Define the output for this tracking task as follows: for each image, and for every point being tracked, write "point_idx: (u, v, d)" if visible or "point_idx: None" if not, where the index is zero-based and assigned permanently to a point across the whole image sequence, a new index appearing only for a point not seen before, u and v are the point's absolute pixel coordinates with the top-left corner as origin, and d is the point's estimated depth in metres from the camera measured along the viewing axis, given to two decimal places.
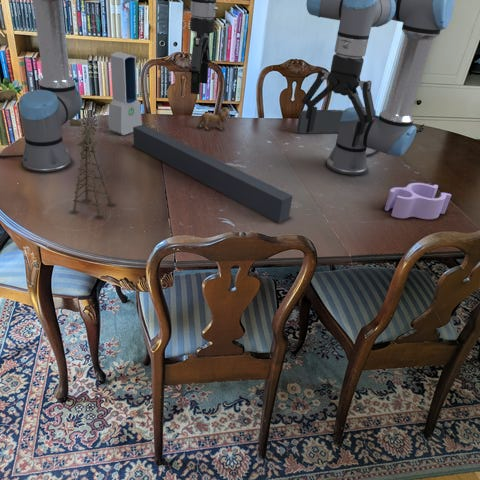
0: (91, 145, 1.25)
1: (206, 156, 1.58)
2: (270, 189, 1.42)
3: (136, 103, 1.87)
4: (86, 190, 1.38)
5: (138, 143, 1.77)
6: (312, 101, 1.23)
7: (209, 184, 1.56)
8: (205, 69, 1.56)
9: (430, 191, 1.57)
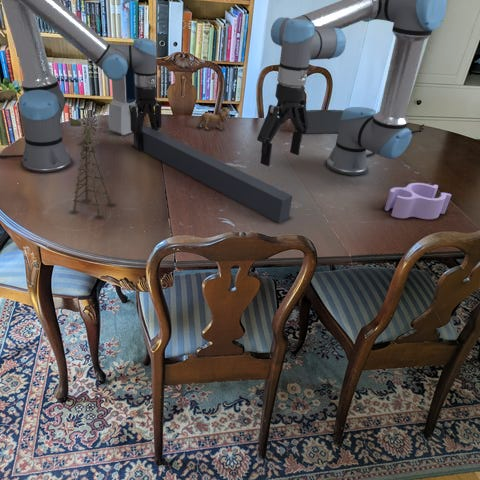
0: (91, 145, 1.25)
1: (206, 156, 1.58)
2: (270, 189, 1.42)
3: None
4: (86, 190, 1.38)
5: None
6: (271, 137, 1.25)
7: (209, 184, 1.56)
8: None
9: (430, 191, 1.57)
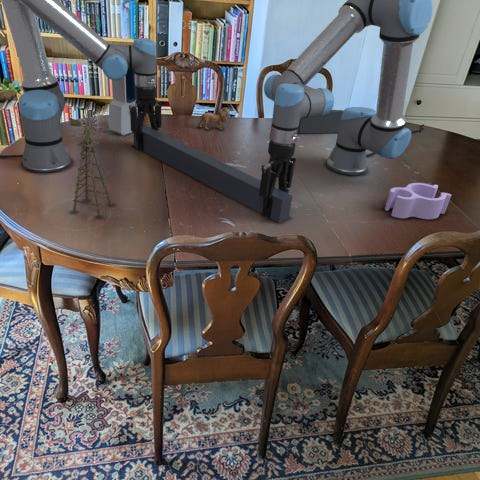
0: (91, 145, 1.25)
1: (206, 156, 1.58)
2: None
3: None
4: (86, 190, 1.38)
5: None
6: (271, 192, 1.37)
7: (209, 184, 1.56)
8: None
9: (430, 191, 1.57)
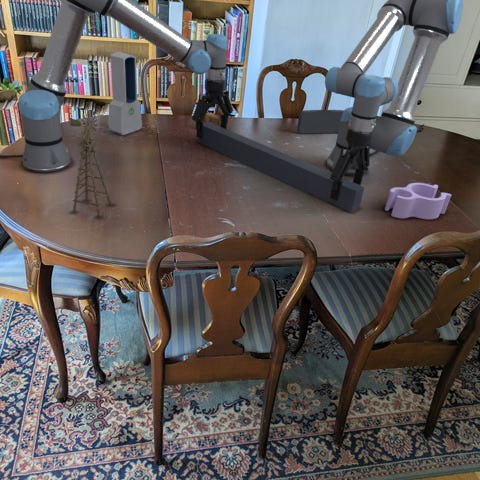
0: (91, 145, 1.25)
1: (275, 151, 1.68)
2: (343, 181, 1.51)
3: (136, 103, 1.87)
4: (86, 190, 1.38)
5: (203, 139, 1.86)
6: (342, 176, 1.42)
7: (278, 177, 1.66)
8: (224, 120, 1.87)
9: (430, 191, 1.57)
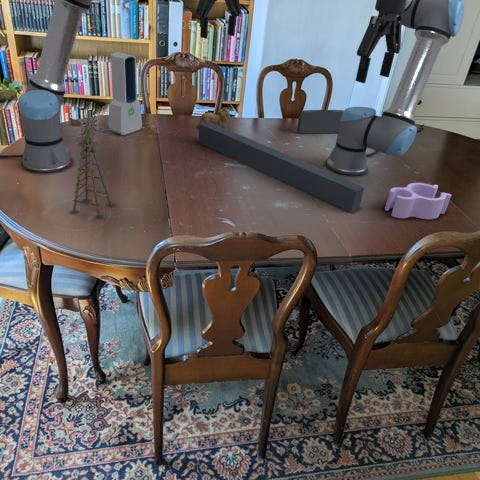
0: (91, 145, 1.25)
1: (275, 151, 1.68)
2: (343, 181, 1.51)
3: (136, 103, 1.87)
4: (86, 190, 1.38)
5: (203, 139, 1.86)
6: (371, 50, 1.23)
7: (278, 177, 1.66)
8: (232, 21, 1.68)
9: (430, 191, 1.57)
